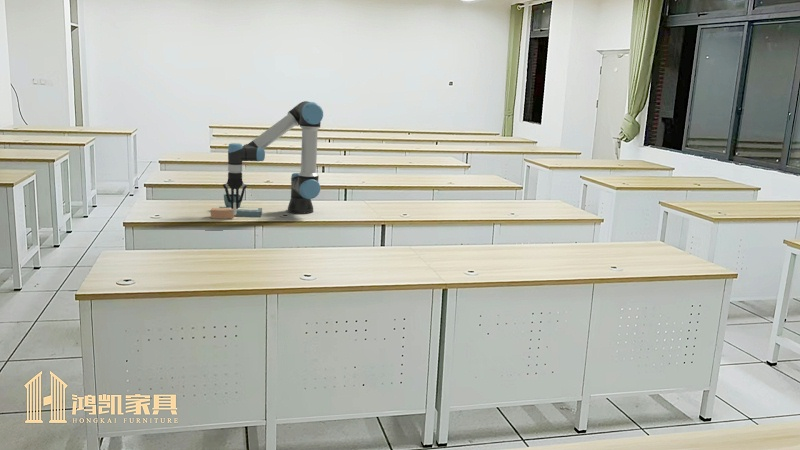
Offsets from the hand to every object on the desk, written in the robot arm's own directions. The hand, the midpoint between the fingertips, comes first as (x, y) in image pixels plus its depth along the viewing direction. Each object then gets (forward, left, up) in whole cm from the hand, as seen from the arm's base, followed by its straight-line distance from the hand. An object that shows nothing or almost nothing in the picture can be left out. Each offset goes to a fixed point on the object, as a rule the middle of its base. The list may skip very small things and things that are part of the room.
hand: (234, 214), depth 370 cm
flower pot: (+3, -22, -2) cm, 22 cm away
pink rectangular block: (+7, -2, -2) cm, 7 cm away
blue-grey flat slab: (-2, -11, -2) cm, 11 cm away
